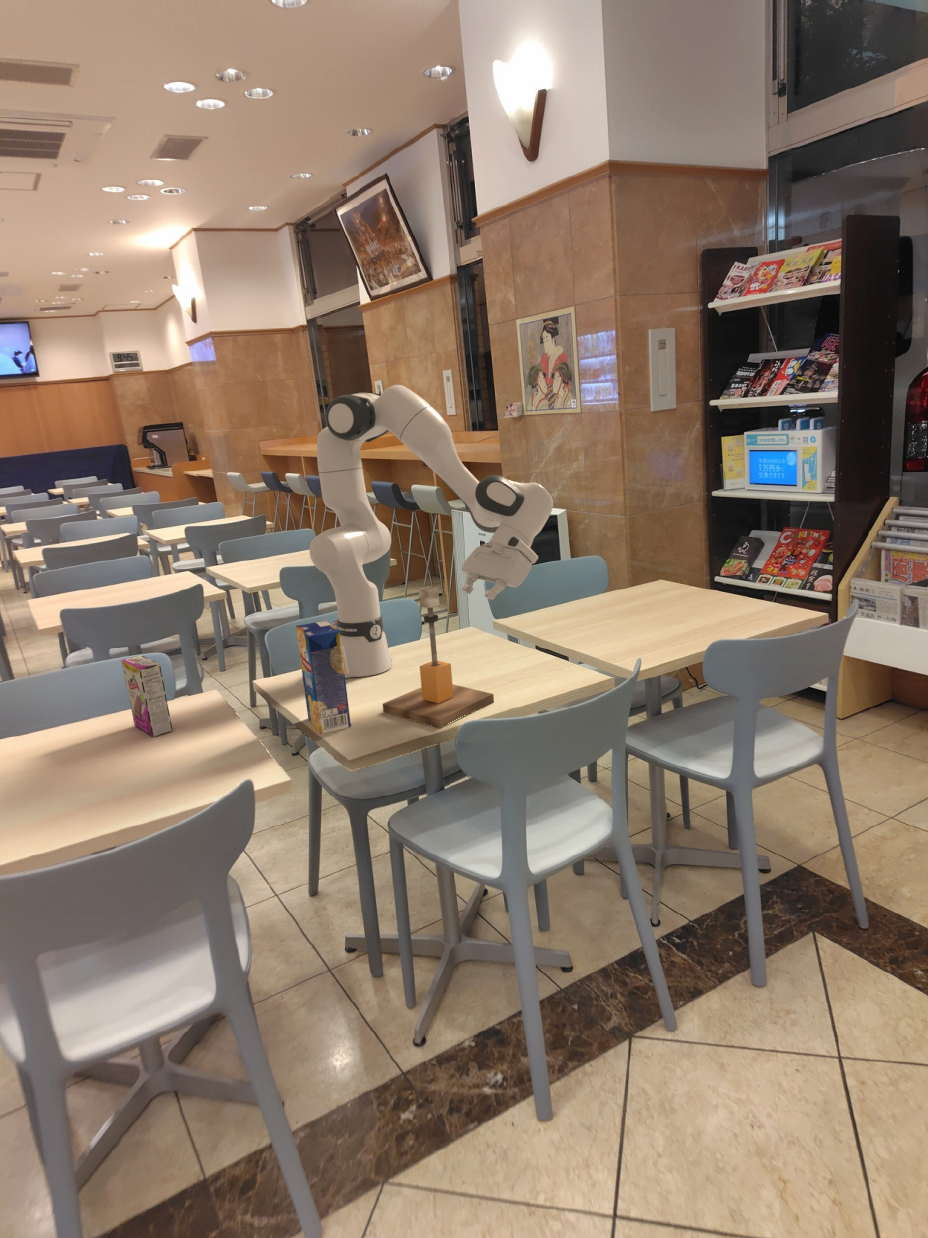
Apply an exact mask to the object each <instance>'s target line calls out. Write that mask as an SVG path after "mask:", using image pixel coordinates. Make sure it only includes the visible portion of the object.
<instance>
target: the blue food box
mask: <svg viewBox="0 0 928 1238" xmlns="http://www.w3.org/2000/svg"><path fill="white" fill-rule="evenodd" d="M295 628H296V638H297V645H298V651H299V653H298V654H299V661H300V667H301V674H302V679H303V680H302V681H303V682H302V683H303V690H304V696H305V704H306V711H307V712H306V713H307V718H308V720H309V721H310V722H311V723H312V725H313V726H314V727H315V729H316V730H317V731H318V733H320V734H321V735H323V734H326V733H331V732H335V731H338V730H343V729H347V728H351V727H352V724H351V718H350V717H351V716H350V706H349V701H348V700H349V699H348V689H347V681H346V678H345V673H344V664H343V656H342V648H341V639H340V631H339V630H338V629H336V626H335V625H332V624H331V623H330V622H329V621H328V620H322V621H316V622H315V621H314V622H310V623H305V624H304V623H303V624H299V625H296V626H295Z"/></svg>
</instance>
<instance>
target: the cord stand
mask: <svg viewBox="0 0 928 1238" xmlns="http://www.w3.org/2000/svg"><path fill="white" fill-rule="evenodd" d="M418 597H419V605H420V606H419V607H420V608H426V609H427V614H426V615H424V616H423V621H424V623H427V624H428V629H429V630H428V631H429V640H430V641H429V642H430V651H431V652H430V653H431V661H432V665H433V666H435V667H436V666H438V662H437V661H438V651H437V650H438V649H437V640H436V630H435V629H436V628H435V623H436V622H438V621H439V615H438V614H436V613H435V614H434V608H435V607H437V606H440V595H439V587H436V586H430V585H429V586H428V585H427V586H425V587H422V588H421V587H420V588H419V589H418ZM452 686H453V697H452V698H449V699H447V700H445V701H443V702H441V703H434V702H431V701H427V700H423V698H422V687H419V688H416V689H414V690H412V691H410V692H407V693H404V694H403V695H400V696H398V697H395V698H393V699H391V700H388V701H386V702H384V703H382V710H383V711H382V712H383V713H385V712H386V713H385V714H389V713H390V714H389V715H392V714H393V716H396V715H397V716H396V717H399V716H400V718H404V719H406V720H409V719H410V720H409V721H413V720H414V722H416V721H417V723H420V722H421V723H420V724H423V723H425V724H424V725H427V724H428V725H427V726H430V725H432V726H431V727H434V726H435V727H434V728H437V727H438V729H442V728H444V727H446V726H448V725H449V724H448V723H450V722H452V721H454V720H456V719H458V718H460V717H462V716H464V715H466V714H468V713H471V712H473V713H475V712H476V711H475V710H477V711H479V710H481V709H483V708H485V707H487V706H489V705H491V704H493V703H495V699H494V698H495V697H494V696H495V695H494V693H491V692H487V691H482V690H479V689H473V688H470V687H465V686H462V685H459V684H453V683H452ZM480 708H481V709H480ZM478 709H479V710H478ZM474 711H475V712H474ZM471 714H472V713H471ZM462 718H463V717H462ZM460 719H461V718H460ZM458 720H459V719H458ZM456 721H457V720H456ZM454 722H455V721H454ZM452 723H453V722H452ZM447 724H448V725H447ZM450 724H451V723H450ZM445 725H446V726H445ZM443 726H444V727H443Z"/></svg>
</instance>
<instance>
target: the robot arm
mask: <svg viewBox="0 0 928 1238" xmlns="http://www.w3.org/2000/svg"><path fill="white" fill-rule="evenodd" d="M325 423H326V426H325V427H324V428H323V429H321V430H320V431H319V433H318V435H317V438H316V439H317V440H316V459H317V460H316V461H317V462H316V463H317V469H318V470H317V471H318V476H319V477H318V478H319V484H320V489H321V497H322V502H323V504H324V505H325V506H326V507H327V508H328V509H330V510H332V511H333V512H334V513H335V515H336V516H337V519H338V521H339V524H340V526H337V527H333V528H330V529H326V530H324V531H322V532H321V533H319V534H317V535H316V536H314V537H313V538H312V540H311V541H310V545H309V557H310V559H311V562H312V564H313V565H314V566H315V568H316V569H318V570H319V571H320V572H322V573H323V574H324V575H325V576H326V577H327V579H328V581H329V582H330V584H331V586H332V589H333V592H334V594H335V595H334V597H335V602H336V609H337V616H338V619H336V620H334V621H332V623H333V625H332V626H335V628H336V629H338V630H339V631H340V639H341V648H342V656H343V664H344V673H345V679H348V678H359V677H361V678H362V677H368V676H374V675H379V674H383V673H385V672H386V671H388V670H390V669H391V668H392V666H393V664H392V661H393V656H392V655H391V654H390V651H389V644H388V641H387V637H386V636H387V635H386V633H385V631H384V618H383V615H381V608H380V599H379V589H378V586H377V585H376V584H375V583H374V582H372V581H370V580H368V578H367V576H366V574H365V572H364V568H363V565H365V564H369V563H372V562H375V561H377V560H378V559H380V558H382V557H383V556H384V555H386V553H388V552H389V550H390V549H391V546H392V545H391V544H392V535H391V533H390V530H389V528H388V527H387V525H385V524H384V523H383V522H382V521H380V520H379V519H378V517H377V516H376V514H375V511H373V508H372V506H371V504H370V501H369V498H368V493H367V490H366V484H365V475H364V470H363V461H362V457H361V449H362V446H363V444H364V443H366V442H367V443H370V442H372V441H375V440H376V439H378V438H380V437H382V436H384V435H386V434H388V432H390V433H392V434H393V435H394V437H396V438H397V439H398V440H399V441H400V442H401V443H402V444H403V445H404V446H405V447H406V448H407V449H408V450H409V451H410V452H412V453H413V455H415V456H416V457H417V458H419V459H420V460H421V461H422V462H423V463H425V465H426V466H427V467H429V469H431V470H432V471H433V472H434V473H435V474H436V475H437V476H438V477H439V478H440V479H441V480H442V482H444V484H446V486H447V487H448V488H449V489H450V490H451V491H452V492H453V493H454V494H455V495H456V496H457V497H458V498H459V499H460V501H461V502H463V504H464V505H465V506H466V508H467V509H468V511H469V515H470V517H471V520H472V521H473V523H474V524H475V526H476V527H477V528H478V529H479V530H481V531H483V532H486V533H490V534H492V536H491V537H490V539H489V541H488V542H484V544H482V545H479V546H477V547H476V548H475V549H473V551H472V552H471V553H470V555H469V556H468V557H467V558H466V560H465V561H464V563H462V566H461V571H462V572H463V573H464V574H465V575H466V577H465V582H464V585H463V586H462V589H461V590H462V592H463V593H465V594H467V595H468V594H469V595H471V594H472V591H474V589H475V588H474V587H473V586H474V583H476V582H477V581H478V580H480V581H485V582H489V583H493V584H494V585H493V586H492V587H491V588H490V589H487V590H486V592H485V594H484V597H485V598H487V599H488V600H491V601H494V600H495V598H496V596H497V595H498V594H500V593H501V592H502V591H504V590H505V588H506V587H511V588H517V587H519V586H520V585H521V584H522V583H523V582H524V581H525V579H526V578H527V576H528V575H529V572H530V571H531V569H532V566H533V565H534V564H535V563H536V562H537V561H538V559H539V556H538V555H537V554H536V552H535V551H534V550H533V549H532V548H531V547H532V545H533V542H534V539H535V537H536V536H537V535H538V534H539V533H541V531H542V530H543V528H544V527H545V524H546V523H547V521H548V519H549V517H550V516H551V514H552V510H553V509H554V501H553V497H552V495H551V493H550V492H549V491H548V490H547V488H545V487H544V486H543V485H541V484H539V483H537V482H519V481H515V480H514V481H513V480H510V479H507V478H506V477H503V476H502V475H496V474H494V475H489V476H486V477H484V478H482V479H480V480H478V478H476V477H475V476H474V474H473V473H471V471H470V470H469V469H468V468H467V467H466V466H465V465H464V464H463V462H462V461H461V459H460V457H459V455H458V452H457V450H456V445H455V442H454V438H453V434H452V430H451V428H450V427H449V425H448V423H447V422H446V420H445V419H444V418H443V416H442V415H441V414H440V413H439V411H437V410H436V409H435V408H434V407H433V406H431V405H430V403H428V402H427V401H426V400H425V399H424V398H422V397H421V396H420V395H418V394H417V393H416V392H414V391H412V390H411V389H409V388H408V387H406V386H405V385H403V384H394V385H391V386H389V387H387V388H386V389H385V390H384V391H383V392H382V393H381V394H380V393H374V392H373V393H369V392H357V393H352V394H342V395H340V396H338V397H335V398H334V399H332V400H331V402H330V403H329V404H328V405H327V407H326V411H325Z"/></svg>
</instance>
